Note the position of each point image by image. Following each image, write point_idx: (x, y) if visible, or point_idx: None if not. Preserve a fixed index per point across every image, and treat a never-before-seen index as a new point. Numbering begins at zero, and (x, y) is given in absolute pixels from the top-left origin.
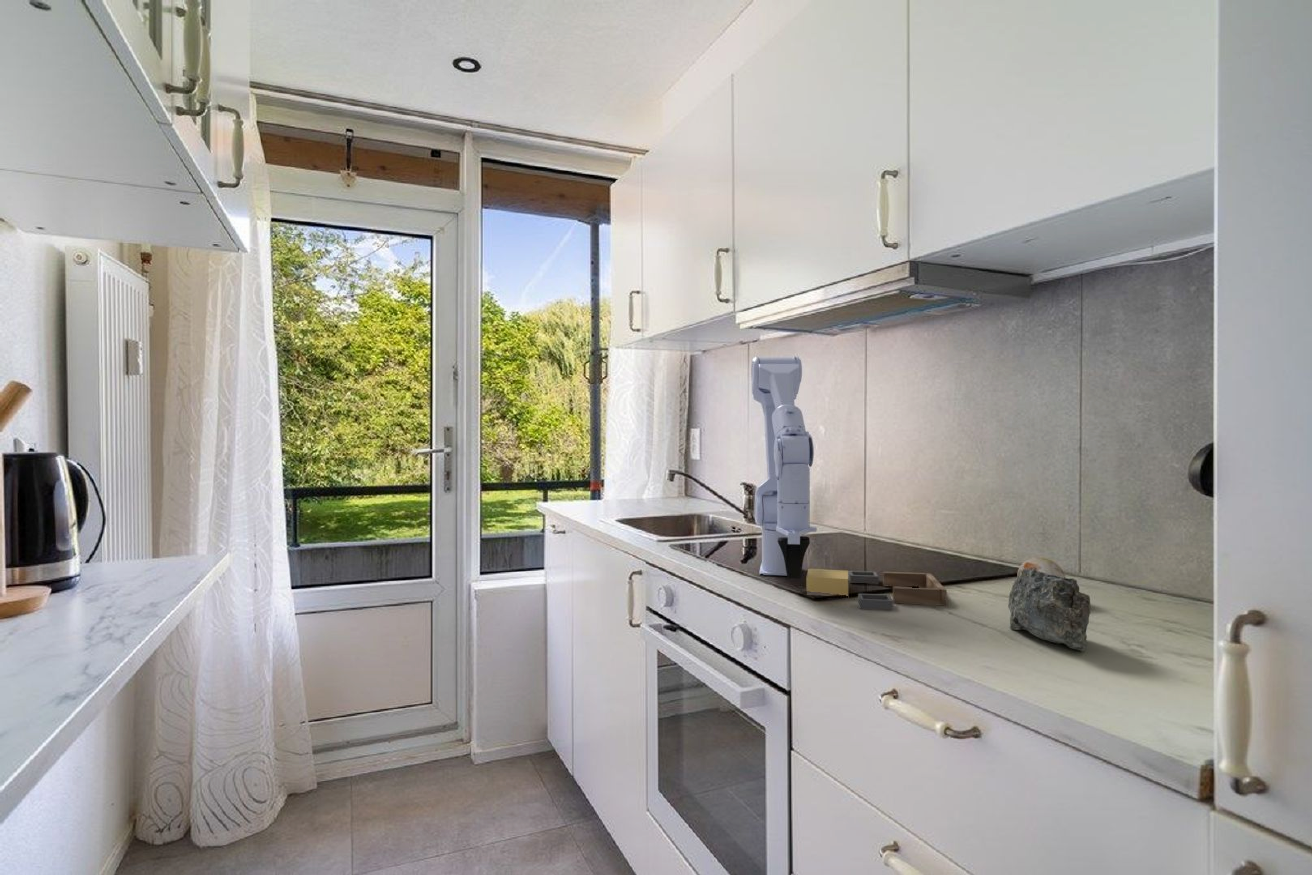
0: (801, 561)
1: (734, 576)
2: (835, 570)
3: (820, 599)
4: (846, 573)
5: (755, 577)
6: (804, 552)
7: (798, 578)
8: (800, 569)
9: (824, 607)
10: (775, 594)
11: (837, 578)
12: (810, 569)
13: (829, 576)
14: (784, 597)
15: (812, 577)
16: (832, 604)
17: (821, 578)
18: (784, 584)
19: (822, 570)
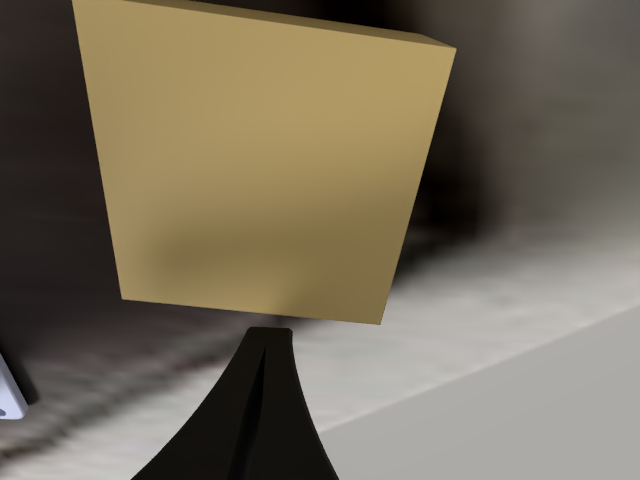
0: (309, 415)
1: (91, 467)
2: (112, 121)
3: (458, 203)
4: (218, 31)
5: (74, 417)
6: (338, 478)
7: (291, 333)
8: (294, 368)
9: (625, 199)
10: (364, 366)
11: (428, 139)
12: (140, 290)
13: (356, 192)
14: (415, 340)
15: (387, 294)
16: (574, 153)
17: (399, 244)
18: (165, 332)
19: (149, 221)
